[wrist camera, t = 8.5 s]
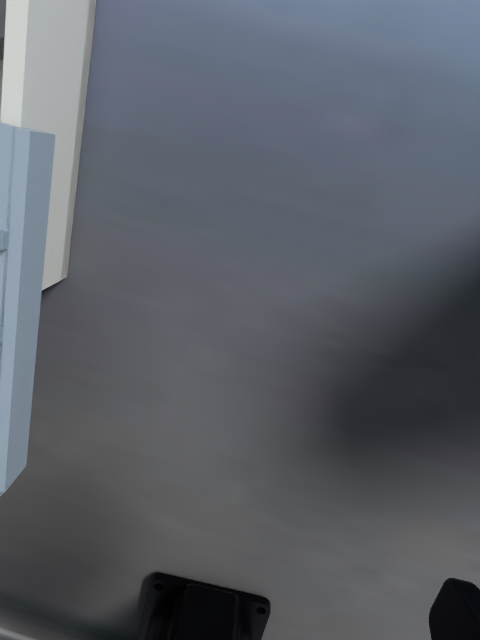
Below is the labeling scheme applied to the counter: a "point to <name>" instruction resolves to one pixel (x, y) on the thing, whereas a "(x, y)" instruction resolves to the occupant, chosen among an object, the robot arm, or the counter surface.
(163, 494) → the counter surface
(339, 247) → the counter surface
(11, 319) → the lid
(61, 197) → the tub
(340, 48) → the counter surface
